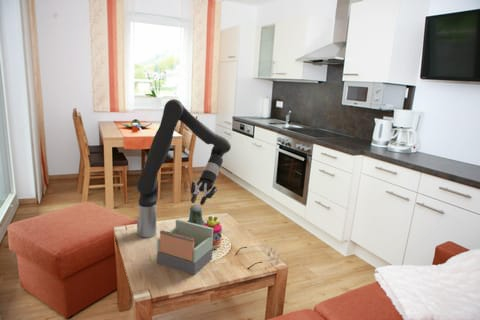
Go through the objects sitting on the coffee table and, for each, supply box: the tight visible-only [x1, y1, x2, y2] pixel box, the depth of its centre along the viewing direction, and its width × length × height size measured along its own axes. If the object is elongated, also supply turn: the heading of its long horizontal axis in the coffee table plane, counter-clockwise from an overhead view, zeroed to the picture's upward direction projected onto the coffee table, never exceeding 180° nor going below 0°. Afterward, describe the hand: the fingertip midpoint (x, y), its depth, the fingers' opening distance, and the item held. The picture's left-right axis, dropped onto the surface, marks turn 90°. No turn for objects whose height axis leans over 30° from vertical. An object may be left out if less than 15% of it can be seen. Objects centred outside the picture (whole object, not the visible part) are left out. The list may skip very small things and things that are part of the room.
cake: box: [202, 215, 223, 251], centre depth 176 cm, size 10×11×15 cm
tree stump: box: [186, 204, 206, 225], centre depth 192 cm, size 18×20×18 cm
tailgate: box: [159, 229, 194, 261], centre depth 151 cm, size 1×17×10 cm, turn 66°
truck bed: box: [156, 218, 213, 276], centre depth 159 cm, size 16×20×16 cm
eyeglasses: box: [234, 242, 281, 270], centre depth 167 cm, size 16×19×5 cm
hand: (196, 203), depth 163 cm, fingers open, 4 cm apart
